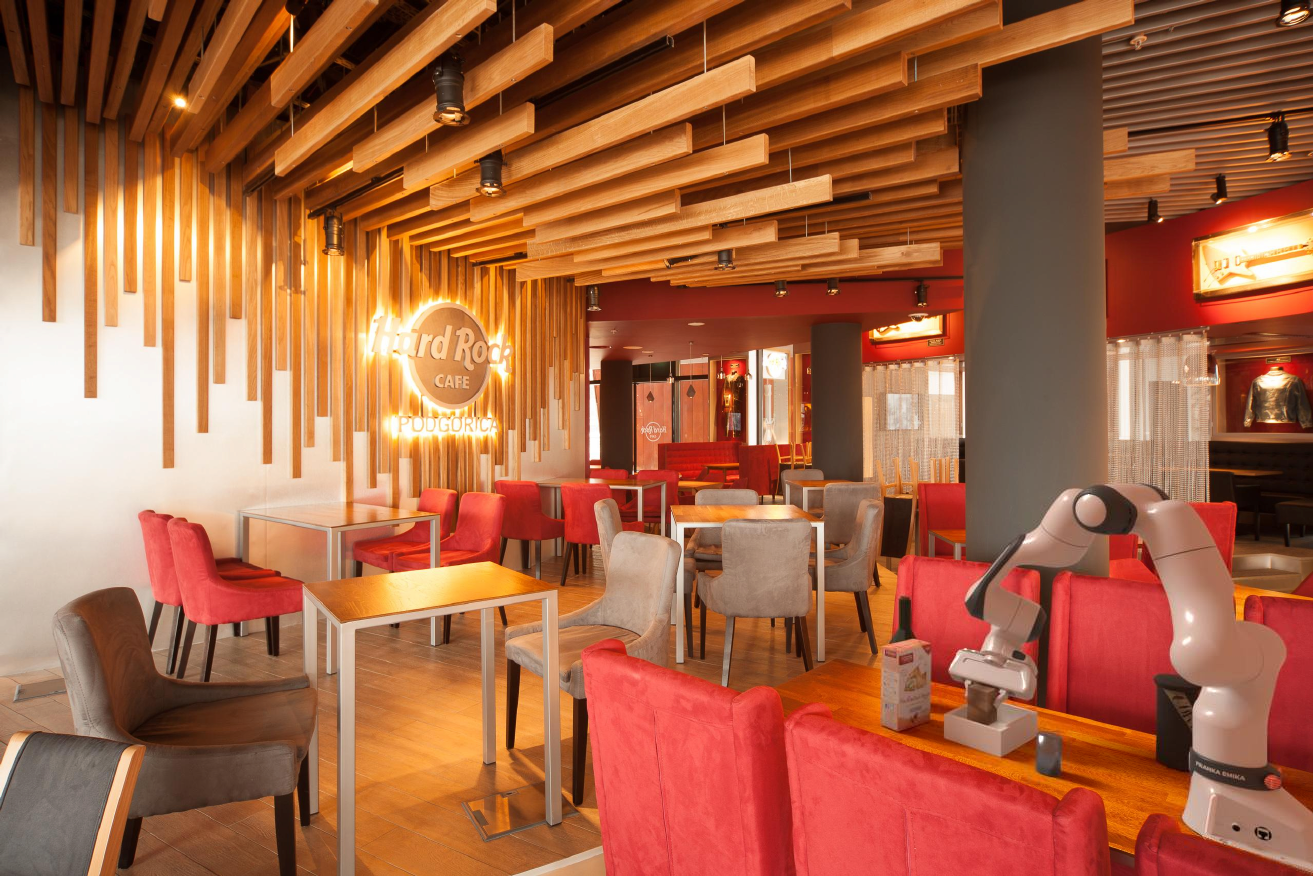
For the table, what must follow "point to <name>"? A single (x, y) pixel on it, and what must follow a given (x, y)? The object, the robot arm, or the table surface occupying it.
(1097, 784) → the table surface
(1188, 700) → the container
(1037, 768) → the charcoal tin
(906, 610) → the wine bottle
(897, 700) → the cracker box
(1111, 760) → the table surface
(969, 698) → the walnut block
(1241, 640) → the robot arm
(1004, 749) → the box
